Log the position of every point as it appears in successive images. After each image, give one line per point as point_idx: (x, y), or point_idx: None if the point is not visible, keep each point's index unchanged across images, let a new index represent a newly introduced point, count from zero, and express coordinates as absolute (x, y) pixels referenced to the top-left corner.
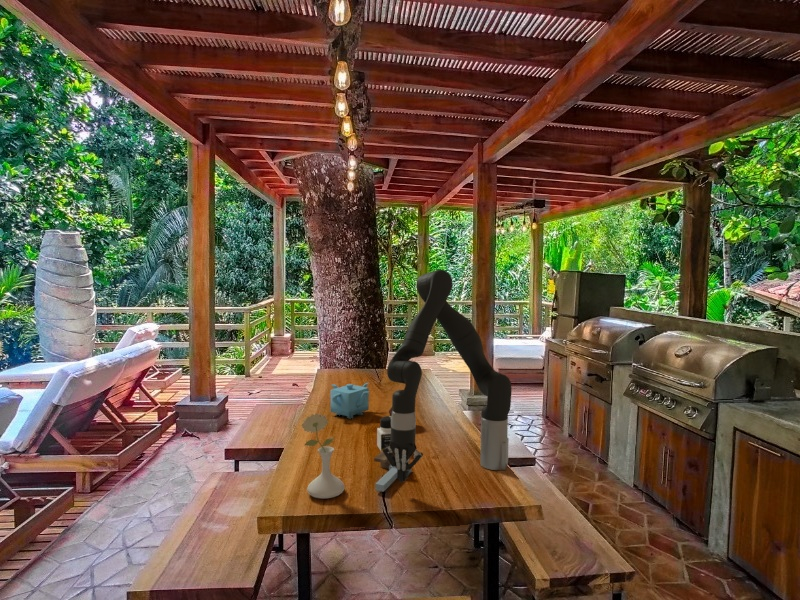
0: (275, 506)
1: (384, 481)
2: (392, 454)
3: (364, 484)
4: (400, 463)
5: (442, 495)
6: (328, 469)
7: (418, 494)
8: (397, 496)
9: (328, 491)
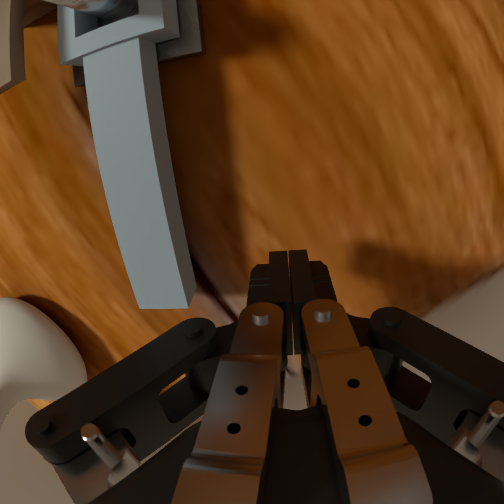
0: (42, 406)
1: (160, 265)
2: (135, 410)
3: (63, 226)
4: (282, 397)
5: (479, 150)
6: (9, 406)
7: (370, 189)
8: None
9: None
